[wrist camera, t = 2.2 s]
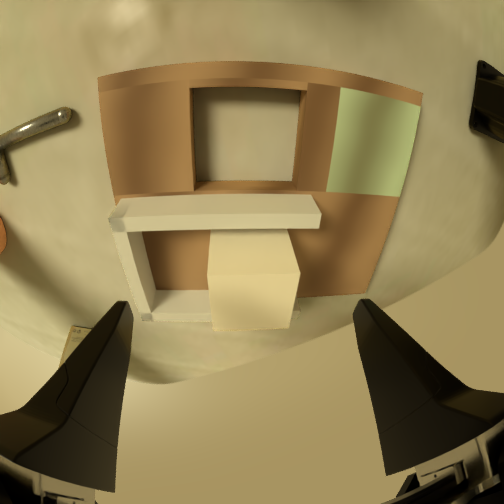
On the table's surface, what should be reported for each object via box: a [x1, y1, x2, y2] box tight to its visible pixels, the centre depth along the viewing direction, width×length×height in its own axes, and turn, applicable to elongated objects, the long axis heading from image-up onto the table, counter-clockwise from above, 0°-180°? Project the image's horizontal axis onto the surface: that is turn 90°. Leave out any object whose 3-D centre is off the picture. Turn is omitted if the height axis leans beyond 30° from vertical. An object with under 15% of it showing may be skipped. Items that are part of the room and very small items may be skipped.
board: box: [98, 61, 423, 298], centre depth 18 cm, size 20×18×2 cm
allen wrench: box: [0, 107, 72, 185], centre depth 14 cm, size 9×4×1 cm, turn 92°
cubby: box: [108, 194, 322, 322], centre depth 19 cm, size 12×10×2 cm
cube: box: [207, 229, 300, 331], centre depth 18 cm, size 5×5×5 cm
